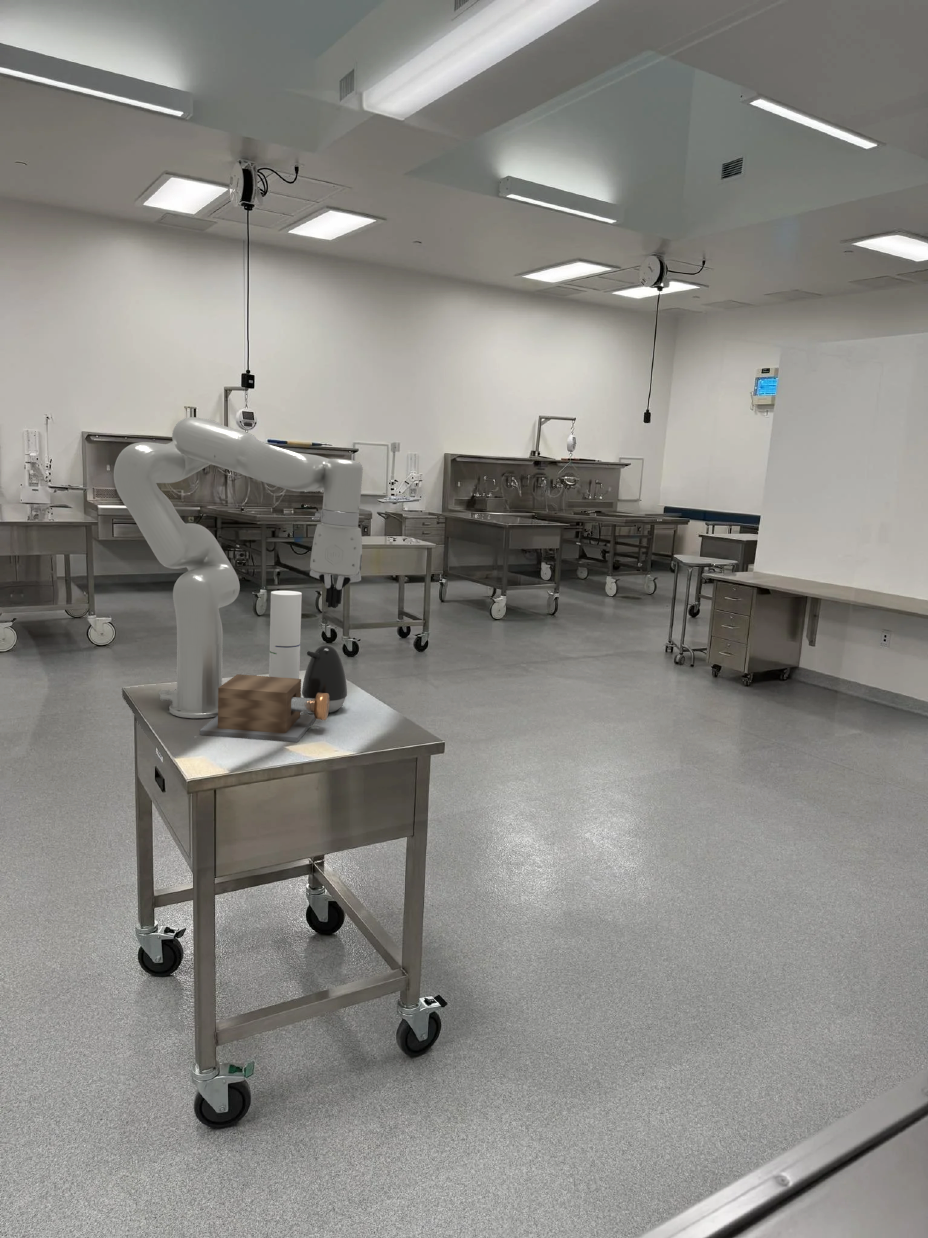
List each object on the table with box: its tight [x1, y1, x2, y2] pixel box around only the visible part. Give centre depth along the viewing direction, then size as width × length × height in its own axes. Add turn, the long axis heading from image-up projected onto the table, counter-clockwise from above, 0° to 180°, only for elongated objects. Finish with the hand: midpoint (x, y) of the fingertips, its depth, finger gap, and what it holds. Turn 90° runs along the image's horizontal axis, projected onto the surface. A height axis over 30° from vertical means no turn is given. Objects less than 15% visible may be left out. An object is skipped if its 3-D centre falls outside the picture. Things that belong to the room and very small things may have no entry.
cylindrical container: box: [268, 590, 303, 679], centre depth 199 cm, size 7×7×25 cm
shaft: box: [291, 693, 330, 721], centre depth 174 cm, size 20×6×6 cm, turn 87°
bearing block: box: [199, 673, 317, 743], centre depth 174 cm, size 20×16×10 cm
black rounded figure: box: [301, 644, 348, 714], centre depth 189 cm, size 10×10×15 cm
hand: (333, 606), depth 175 cm, fingers closed
